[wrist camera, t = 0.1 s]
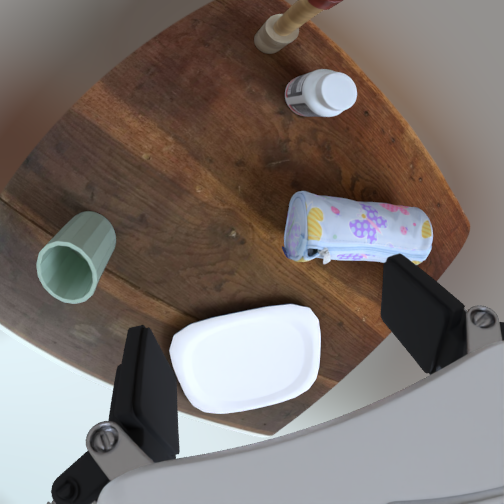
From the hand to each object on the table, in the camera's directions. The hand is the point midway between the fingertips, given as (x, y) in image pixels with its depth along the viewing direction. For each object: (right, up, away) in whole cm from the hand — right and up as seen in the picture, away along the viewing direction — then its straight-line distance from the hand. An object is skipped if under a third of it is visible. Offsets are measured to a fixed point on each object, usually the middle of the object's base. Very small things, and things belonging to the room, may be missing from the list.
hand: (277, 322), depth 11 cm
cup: (-22, +4, +25) cm, 34 cm away
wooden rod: (+1, +28, +19) cm, 34 cm away
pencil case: (+13, +7, +31) cm, 35 cm away
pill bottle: (+6, +22, +23) cm, 32 cm away
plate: (-1, -17, +40) cm, 43 cm away
